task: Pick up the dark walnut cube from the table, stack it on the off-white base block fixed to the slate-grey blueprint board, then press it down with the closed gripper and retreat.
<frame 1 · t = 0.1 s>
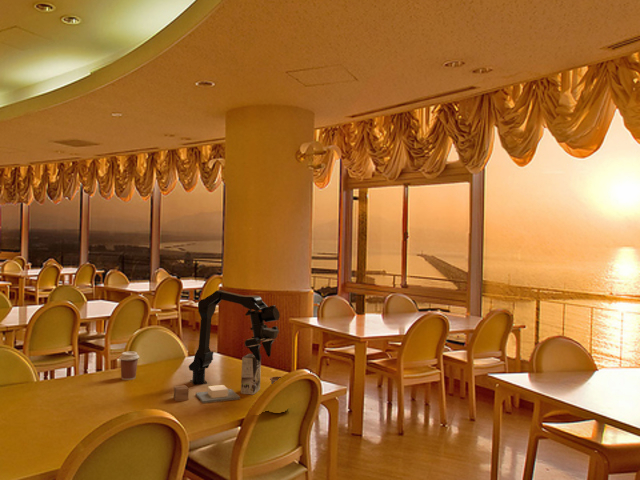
hand: (264, 358, 230), 15 cm above the table, tool pointing down, fingers open, 9 cm apart
coffee pot: (287, 409, 210), on the table
coffee cup: (128, 378, 246), on the table
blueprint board: (217, 397, 222), on the table
walnut block: (180, 399, 218), on the table
coffee box: (250, 391, 232), on the table
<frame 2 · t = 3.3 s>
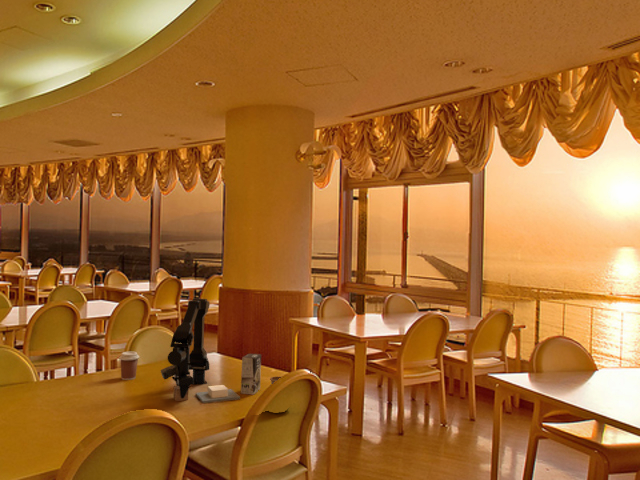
hand: (180, 396, 218), 1 cm above the table, tool pointing down, fingers closed on walnut block, 5 cm apart
walnut block: (180, 398, 218), on the table, touching gripper
everything else where it was.
when the fingers open (6 cm above the table, at t = 7.0 s): walnut block drops 1 cm, resting on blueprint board.
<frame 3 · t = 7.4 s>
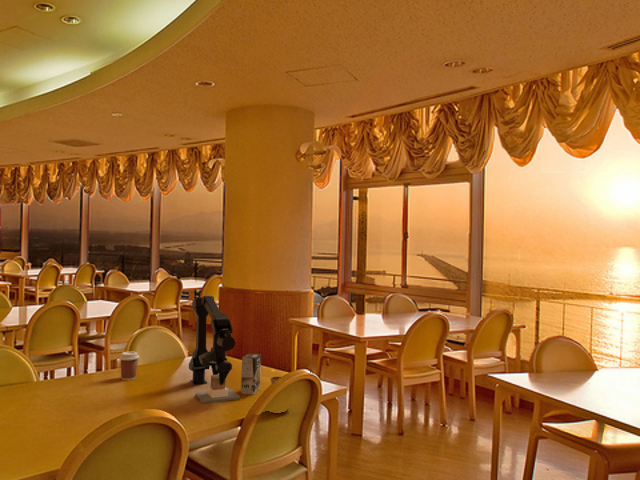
hand: (218, 381, 222), 6 cm above the table, tool pointing down, fingers open, 9 cm apart
walnut block: (217, 387, 222), point 4 cm above the table, touching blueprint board
everything else where it was.
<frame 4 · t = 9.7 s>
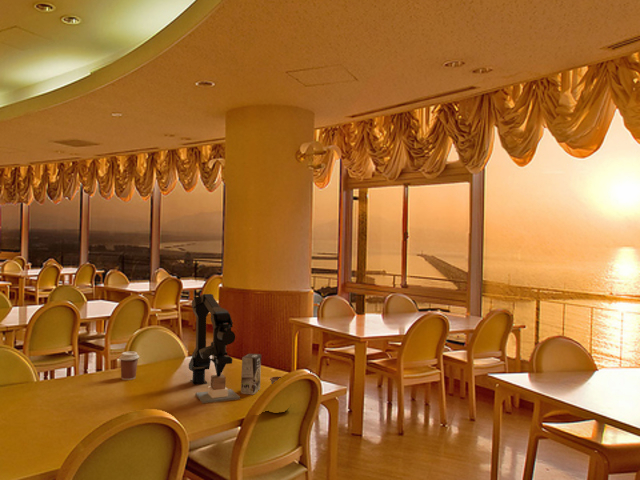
hand: (218, 376, 222), 9 cm above the table, tool pointing down, fingers closed, pressing on walnut block
walnut block: (217, 387, 222), point 4 cm above the table, touching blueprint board, gripper
everything else where it was.
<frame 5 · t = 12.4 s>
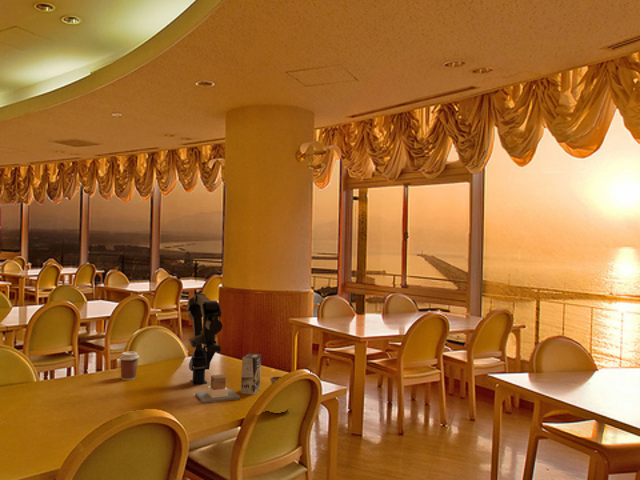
hand: (207, 364, 230), 12 cm above the table, tool pointing down, fingers closed
walnut block: (217, 387, 222), point 4 cm above the table, touching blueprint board
everything else where it was.
at the end: walnut block 0.1 cm off-centre on the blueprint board, point 4.0 cm above the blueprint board's base; walnut block tilted 0°; the gripper is holding nothing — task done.
